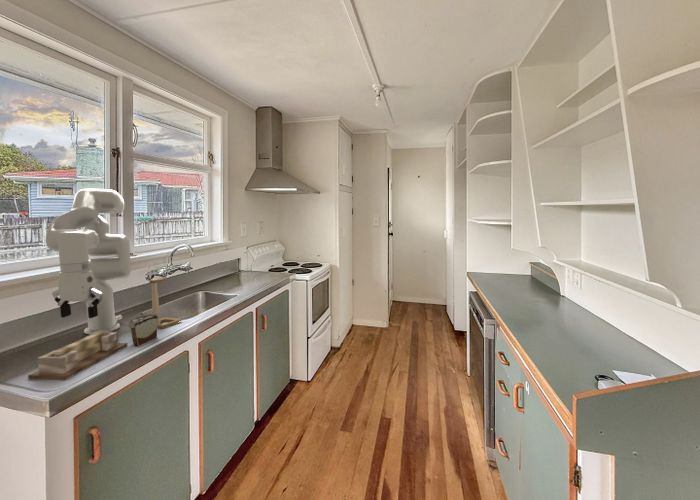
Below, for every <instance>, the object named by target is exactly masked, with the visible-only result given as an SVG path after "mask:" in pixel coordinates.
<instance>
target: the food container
mask: <svg viewBox="0 0 700 500" xmlns="http://www.w3.org/2000/svg"><path fill="white" fill-rule="evenodd" d="M158 318H159V317H158V314H153V313H146V314H141V315H137V316H134V317H131V318H130V319H129V321H128V324H127V326H128V328H130V333H131V337H132V344H133V346H134V347H137V348H139V347H141V346H144V345H145V343H146V344H147V343H149V342H152V341H154V340H155V339H158V329H157V321H158Z"/></svg>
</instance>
